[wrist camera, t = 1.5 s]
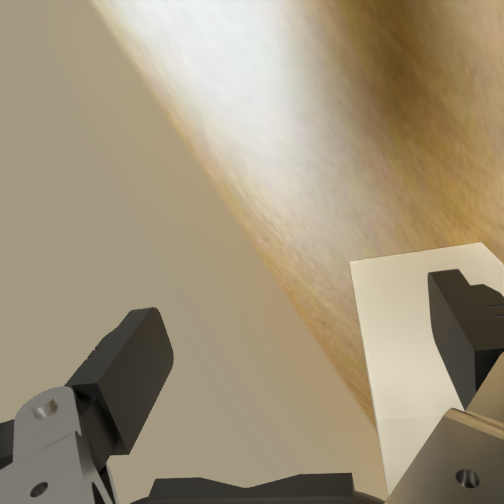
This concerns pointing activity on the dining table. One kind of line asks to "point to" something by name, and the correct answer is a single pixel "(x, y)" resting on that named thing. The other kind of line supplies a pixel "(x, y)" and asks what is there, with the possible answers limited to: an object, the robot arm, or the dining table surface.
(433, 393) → the pedestal
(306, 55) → the dining table surface
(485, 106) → the dining table surface
